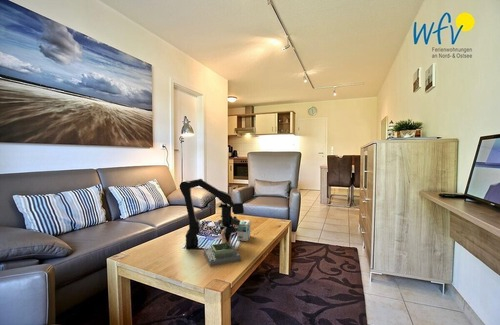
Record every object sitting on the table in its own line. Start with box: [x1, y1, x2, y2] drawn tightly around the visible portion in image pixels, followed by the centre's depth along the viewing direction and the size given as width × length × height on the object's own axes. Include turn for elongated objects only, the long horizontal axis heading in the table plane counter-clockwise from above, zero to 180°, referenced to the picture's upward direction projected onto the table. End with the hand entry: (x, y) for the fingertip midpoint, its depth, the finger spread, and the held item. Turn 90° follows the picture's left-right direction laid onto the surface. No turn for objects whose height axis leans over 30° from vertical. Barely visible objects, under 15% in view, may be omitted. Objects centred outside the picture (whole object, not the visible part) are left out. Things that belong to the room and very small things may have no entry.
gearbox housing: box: [203, 242, 242, 267], centre depth 126 cm, size 16×16×6 cm
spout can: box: [221, 229, 235, 245], centre depth 142 cm, size 7×6×10 cm
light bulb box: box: [236, 219, 251, 242], centre depth 154 cm, size 11×7×11 cm, turn 168°
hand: (226, 239), depth 142 cm, fingers closed on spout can, 5 cm apart
